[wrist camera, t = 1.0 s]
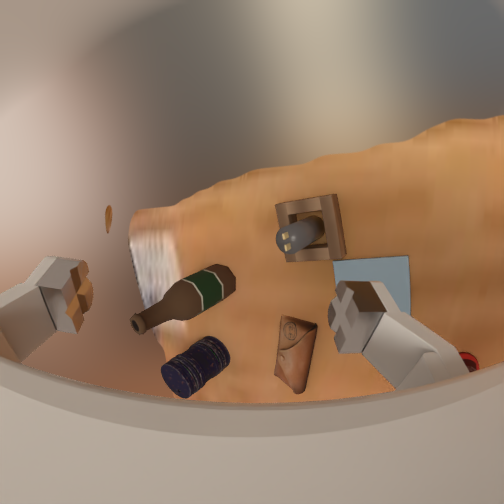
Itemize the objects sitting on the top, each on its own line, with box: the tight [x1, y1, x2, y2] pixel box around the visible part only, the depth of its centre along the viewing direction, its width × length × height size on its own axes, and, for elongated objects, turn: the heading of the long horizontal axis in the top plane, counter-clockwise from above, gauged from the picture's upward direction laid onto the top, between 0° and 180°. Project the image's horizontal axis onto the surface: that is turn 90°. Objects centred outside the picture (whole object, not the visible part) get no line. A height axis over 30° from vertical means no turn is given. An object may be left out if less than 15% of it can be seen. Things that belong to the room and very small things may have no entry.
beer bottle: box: [130, 264, 235, 335], centre depth 53 cm, size 8×8×24 cm
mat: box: [333, 255, 411, 316], centre depth 45 cm, size 13×13×1 cm
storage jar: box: [161, 336, 230, 398], centre depth 66 cm, size 10×10×15 cm
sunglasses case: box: [274, 315, 317, 394], centre depth 56 cm, size 18×7×7 cm
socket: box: [275, 194, 347, 262], centre depth 47 cm, size 10×10×3 cm
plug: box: [276, 216, 325, 254], centre depth 44 cm, size 4×4×11 cm
